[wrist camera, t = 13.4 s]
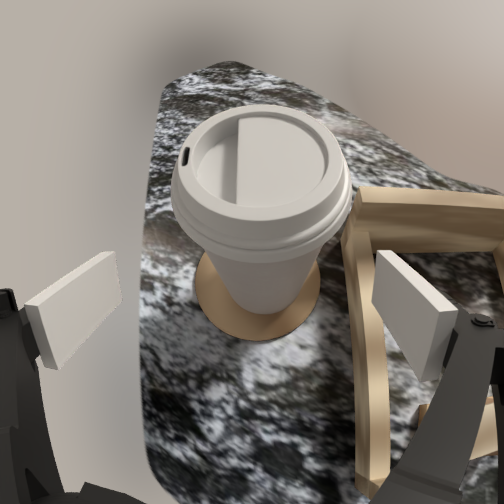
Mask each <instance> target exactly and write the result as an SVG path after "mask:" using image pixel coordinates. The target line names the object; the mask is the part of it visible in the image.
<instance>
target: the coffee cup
mask: <svg viewBox="0 0 504 504" xmlns="http://www.w3.org/2000/svg"><path fill="white" fill-rule="evenodd" d="M351 201H352V183H351V176H350V171H349V168H348V165H347V162H346V160H345V158H344V156H343V154H342V151H341V148H340V146H339V144H338V142H337V140H336V138H335V137H334V135H333V134H332V133H331V132H330V131H329V130H328V129H327V128H326V127H325V126H324V125H323V124H322V123H320V122H319V121H318V120H316V119H314V118H313V117H311V116H309V115H307V114H305V113H303V112H300V111H298V110H295V109H291V108H287V107H283V106H276V105H248V106H241V107H237V108H233V109H229V110H226V111H223V112H221V113H219V114H216V115H214V116H212V117H211V118H209V119H207V120H206V121H204V122H203V123H201V124H200V125H199V126H198V127H197V128H195V129H194V130H193V131H192V132H191V134H190V135H189V136H188V137H187V139H186V140H185V142H184V144H183V145H182V148H181V150H180V153H179V157H178V160H177V162H176V165H175V167H174V171H173V175H172V181H171V203H172V208H173V211H174V214H175V217H176V219H177V221H178V223H179V224H180V226H181V227H182V229H183V230H184V231H185V233H186V234H187V235H188V236H189V237H190V238H191V239H192V240H194V241H195V242H196V243H197V244H199V245H200V246H202V247H203V248H204V250H205V252H206V253H207V255H208V257H209V259H210V260H211V262H212V264H213V265H214V267H215V269H216V271H217V272H218V274H219V276H220V278H221V279H222V281H223V283H224V285H225V286H226V288H227V290H228V292H229V293H230V295H231V297H232V298H233V300H234V301H235V302H236V303H237V304H238V305H239V306H240V307H242V308H243V309H245V310H247V311H249V312H252V313H255V314H273V313H277V312H279V311H282V310H284V309H285V308H287V307H288V306H289V305H291V304H292V303H293V301H294V300H295V299H296V297H297V296H298V294H299V292H300V290H301V288H302V286H303V284H304V282H305V280H306V278H307V276H308V274H309V272H310V270H311V268H312V266H313V264H314V262H315V260H316V258H317V256H318V254H319V252H320V250H321V248H322V246H323V244H324V243H325V242H327V241H328V240H329V239H330V238H331V237H332V236H333V235H334V234H335V233H336V232H337V231H338V230H339V228H340V227H341V226H342V224H343V223H344V221H345V219H346V217H347V215H348V212H349V209H350V206H351Z"/></svg>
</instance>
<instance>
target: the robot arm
mask: <svg viewBox="0 0 504 504" xmlns="http://www.w3.org/2000/svg"><path fill="white" fill-rule="evenodd" d="M121 302H122V295H121V289H120V283H119V277H118V271H117V264H116V257H115V252H101V253H100V254H98V255H96V256H95V257H93V258H92V259H90V260H88V261H87V262H85V263H84V264H82V265H81V266H79V267H78V268H76V269H75V270H73V271H72V272H70V273H69V274H67V275H66V276H64V277H63V278H61V279H60V280H58V281H57V282H55V283H54V284H52V285H51V286H49V287H48V288H46V289H45V290H43V291H42V292H40V293H39V294H38V295H36V296H35V297H33V298H32V299H30V300H29V301H28V302H26V303H25V304H24V307H23V308H22V309H21V310H19V311H18V307H17V304H16V300H15V297H14V293H13V290H12V289H6V288H5V289H0V504H146V503H143V502H141V501H139V500H137V499H135V498H133V497H131V496H129V495H127V494H125V493H121V492H117V491H114V490H110V489H107V488H103V487H100V486H97V485H93V484H90V483H87V482H85V483H84V485H83V487H82V489H81V491H80V493H78V492H75V493H74V492H66V493H65V492H64V489H63V486H62V483H61V480H60V477H59V473H58V469H57V466H56V462H55V458H54V455H53V450H52V447H51V442H50V438H49V433H48V428H47V423H46V418H45V412H44V407H43V401H42V394H41V387H40V379H39V371H38V366H37V363H36V361H35V359H36V358H37V357H38V356H39V355H40V356H41V359H42V361H43V364H44V366H45V367H46V368H51V369H55V370H59V369H60V368H61V367H62V366H63V365H64V364H65V363H66V362H67V360H68V359H69V358H70V357H71V356H72V355H73V353H74V352H75V351H76V350H77V349H78V348H79V347H80V346H81V345H82V344H83V342H84V341H85V340H86V339H87V338H88V337H89V336H90V335H91V334H92V333H93V331H94V330H95V329H96V328H97V327H98V326H99V325H100V324H101V323H102V322H103V320H105V318H106V317H107V316H108V315H109V314H110V313H111V312H112V311H113V310H114V309H115V307H117V306H118V305H119V304H120V303H121ZM371 303H372V304H373V306H374V307H375V309H376V310H377V312H378V314H379V315H380V317H381V318H382V320H383V321H384V323H385V325H386V326H387V328H388V330H389V331H390V333H391V334H392V336H393V338H394V339H395V341H396V343H397V344H398V346H399V348H400V349H401V351H402V353H403V354H404V356H405V358H406V359H407V361H408V363H409V364H410V366H411V368H412V370H413V371H414V373H415V375H416V376H417V378H418V380H419V382H425V381H431V380H437V379H438V378H439V375H440V372H441V369H442V366H444V367H445V372H444V374H443V376H442V379H441V381H440V383H439V386H438V388H437V390H436V392H435V395H434V397H433V399H432V401H431V403H430V405H429V407H428V409H427V411H426V413H425V415H424V417H423V419H422V421H421V423H420V425H419V427H418V429H417V431H416V433H415V434H414V436H413V438H412V440H411V442H410V444H409V445H408V447H407V449H406V450H405V452H404V454H403V456H402V457H401V459H400V461H399V462H398V464H397V465H396V467H395V468H393V469H392V471H391V472H390V473H389V475H388V476H387V478H386V479H385V481H384V482H383V484H382V485H381V487H380V488H379V490H378V491H377V492H376V494H375V495H374V497H373V498H372V499H371V501H370V502H369V503H368V504H460V502H461V499H462V491H459V487H460V484H461V482H462V479H463V477H464V474H465V471H466V468H467V466H468V463H469V460H470V457H471V454H472V451H473V448H474V444H475V441H476V438H477V434H478V431H479V427H480V423H481V420H482V416H483V412H484V407H485V403H486V399H487V394H488V389H489V385H491V386H492V393H493V400H494V408H495V417H496V428H497V443H498V504H504V329H498V326H497V323H496V322H495V321H494V320H493V319H492V318H490V317H488V316H485V315H482V314H469V313H468V312H467V311H465V310H464V309H463V308H462V307H461V306H460V305H459V304H458V303H457V302H456V301H455V300H453V299H452V298H451V297H450V296H449V295H448V294H447V293H445V292H443V291H441V290H439V289H435V288H434V287H433V286H432V285H431V284H430V283H429V282H427V281H426V280H425V279H424V278H423V277H422V276H421V275H420V274H418V273H417V272H416V271H415V270H414V269H413V268H411V267H410V266H409V265H408V264H407V263H406V262H404V261H403V260H402V259H401V258H400V257H399V256H397V255H396V254H395V253H394V252H393V251H391V250H377V255H376V265H375V275H374V284H373V292H372V300H371Z"/></svg>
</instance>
